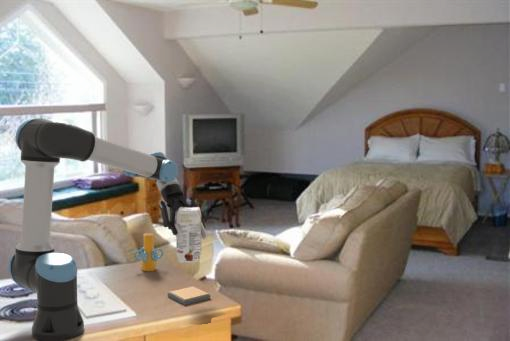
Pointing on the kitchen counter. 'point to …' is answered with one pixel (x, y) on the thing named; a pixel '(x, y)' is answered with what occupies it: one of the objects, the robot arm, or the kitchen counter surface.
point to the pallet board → (188, 295)
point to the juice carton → (189, 234)
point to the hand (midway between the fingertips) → (193, 239)
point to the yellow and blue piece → (148, 253)
